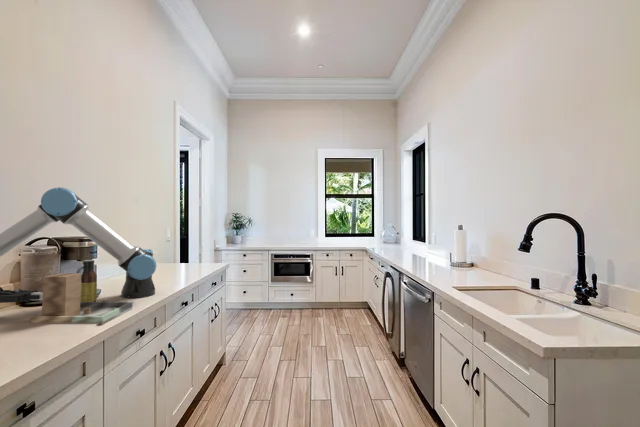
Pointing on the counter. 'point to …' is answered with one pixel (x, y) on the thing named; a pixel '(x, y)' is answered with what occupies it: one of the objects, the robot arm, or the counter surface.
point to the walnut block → (61, 294)
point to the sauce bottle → (88, 282)
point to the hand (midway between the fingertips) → (50, 296)
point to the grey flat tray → (87, 313)
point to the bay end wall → (110, 314)
